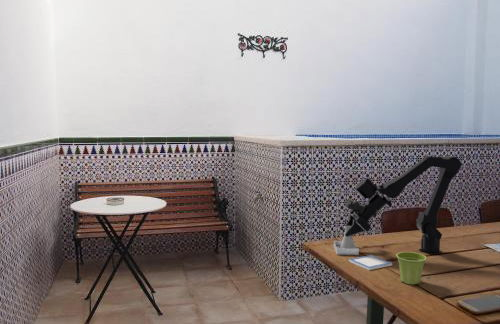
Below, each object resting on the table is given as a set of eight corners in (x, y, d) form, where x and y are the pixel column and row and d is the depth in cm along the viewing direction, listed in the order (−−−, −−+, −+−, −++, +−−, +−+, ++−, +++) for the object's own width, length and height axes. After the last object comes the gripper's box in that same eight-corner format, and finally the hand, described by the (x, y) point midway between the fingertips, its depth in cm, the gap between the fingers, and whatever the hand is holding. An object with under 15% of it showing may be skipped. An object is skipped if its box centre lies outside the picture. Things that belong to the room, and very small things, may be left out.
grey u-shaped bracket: (354, 246, 195) (354, 240, 194) (358, 255, 184) (358, 247, 183) (333, 246, 195) (333, 239, 195) (336, 254, 184) (337, 247, 184)
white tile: (392, 265, 171) (392, 262, 171) (368, 270, 166) (369, 267, 166) (371, 257, 181) (371, 254, 181) (348, 261, 176) (348, 259, 176)
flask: (358, 253, 186) (359, 228, 185) (340, 253, 186) (340, 228, 185) (354, 248, 193) (355, 224, 192) (337, 248, 193) (337, 224, 192)
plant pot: (425, 278, 158) (426, 253, 157) (426, 288, 149) (426, 261, 148) (396, 275, 161) (396, 250, 160) (395, 285, 152) (395, 259, 151)
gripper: (354, 188, 196) (328, 214, 198) (362, 197, 177) (332, 225, 179) (373, 207, 196) (346, 232, 198) (383, 217, 178) (353, 245, 180)
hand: (344, 233), depth 189 cm, fingers open, 6 cm apart
